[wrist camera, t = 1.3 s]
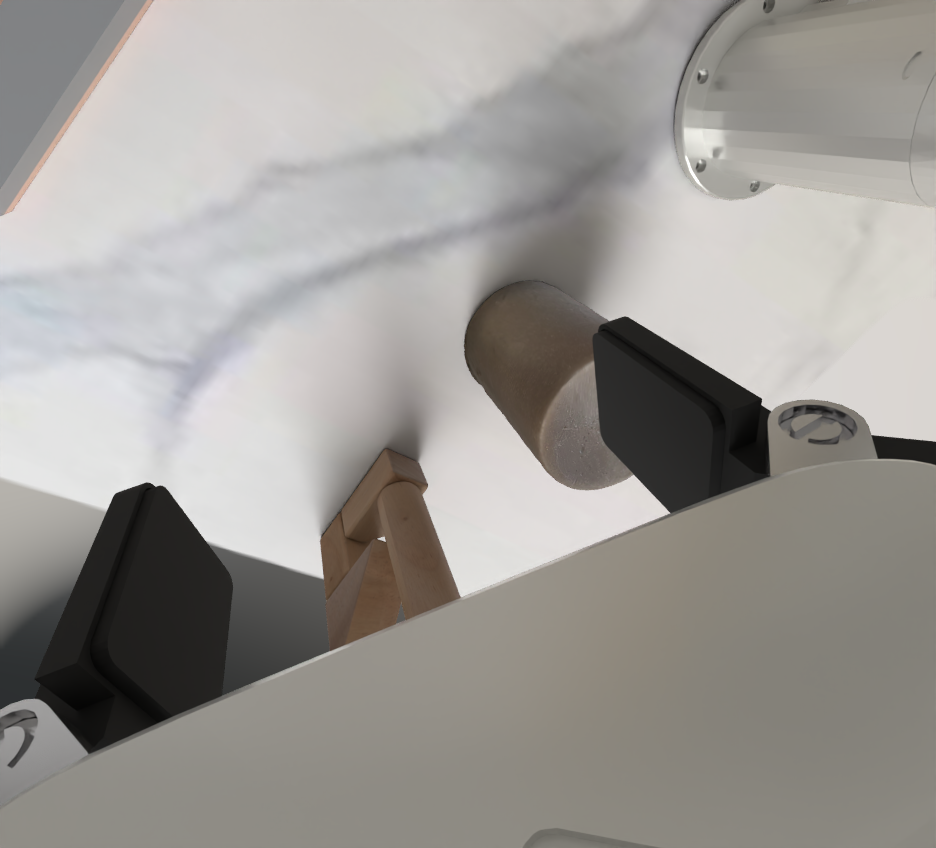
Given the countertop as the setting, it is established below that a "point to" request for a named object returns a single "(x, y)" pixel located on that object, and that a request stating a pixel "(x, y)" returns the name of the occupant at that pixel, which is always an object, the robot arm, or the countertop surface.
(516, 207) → the countertop surface
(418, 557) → the wooden block
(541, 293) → the pillar candle
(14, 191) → the gray square frame
